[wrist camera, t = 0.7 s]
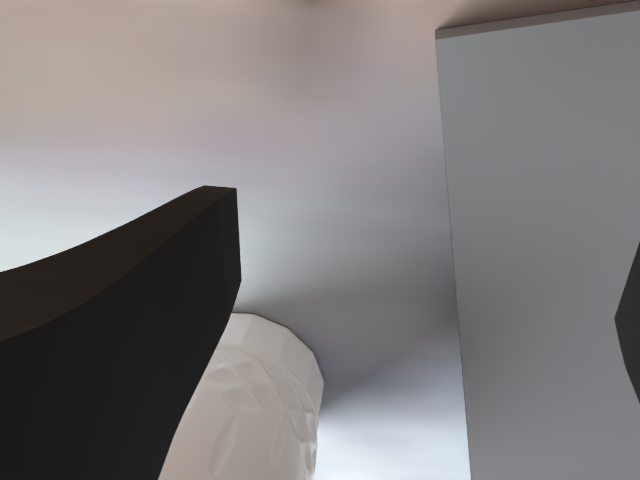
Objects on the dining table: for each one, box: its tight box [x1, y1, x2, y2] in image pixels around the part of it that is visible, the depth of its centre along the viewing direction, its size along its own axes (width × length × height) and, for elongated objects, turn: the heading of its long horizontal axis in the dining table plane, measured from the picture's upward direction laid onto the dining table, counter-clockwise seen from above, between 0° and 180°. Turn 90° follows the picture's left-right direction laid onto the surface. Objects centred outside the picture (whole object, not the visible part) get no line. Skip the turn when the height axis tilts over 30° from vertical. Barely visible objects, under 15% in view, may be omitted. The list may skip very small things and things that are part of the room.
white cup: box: [158, 313, 324, 480], centre depth 22 cm, size 8×8×10 cm
